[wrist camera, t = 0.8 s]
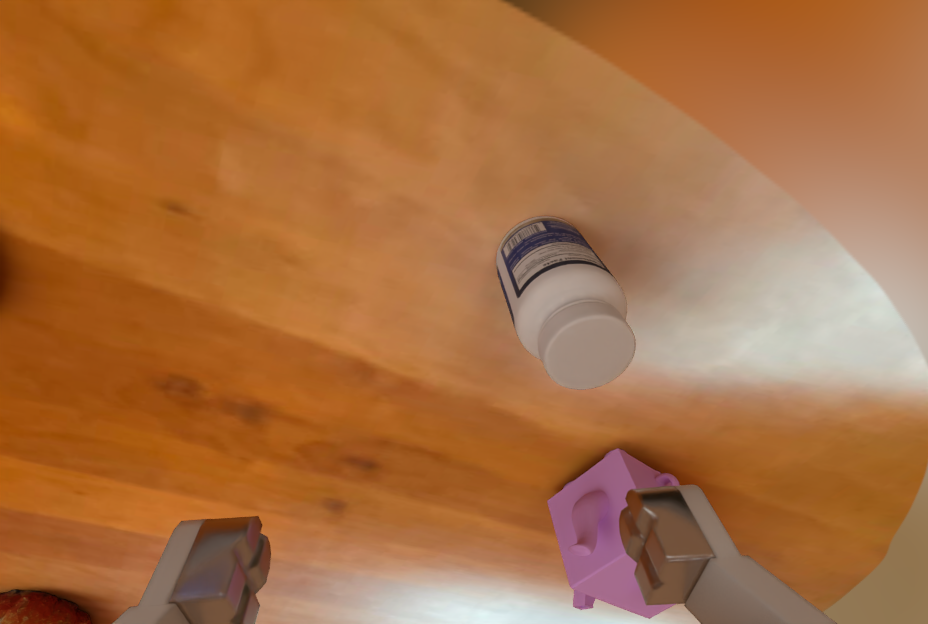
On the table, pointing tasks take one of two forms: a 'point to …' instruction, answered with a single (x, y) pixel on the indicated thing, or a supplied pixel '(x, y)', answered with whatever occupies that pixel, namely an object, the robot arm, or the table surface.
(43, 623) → the fruit
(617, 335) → the pill bottle
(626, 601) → the teapot
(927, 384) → the table surface
